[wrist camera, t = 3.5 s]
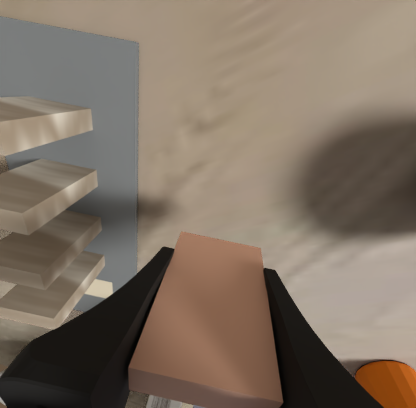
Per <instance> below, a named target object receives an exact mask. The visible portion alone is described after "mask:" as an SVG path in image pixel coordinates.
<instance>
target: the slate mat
mask: <svg viewBox="0 0 416 408" xmlns="http://www.w3.org/2000/svg"><path fill="white" fill-rule="evenodd" d="M138 72H139V43H137V42H134V41H128V40H123V39H118V38H113V37H107V36H102V35H97V34H91V33H86V32H81V31H75V30H70V29H65V28H60V27H54V26H49V25H44V24H38V23H33V22H28V21H22V20H17V19H12V18H7V17H1V16H0V97H21V96H30V97H35V98H40V99H45V100H50V101H55V102H60V103H65V104H70V105H75V106H80V107H85V108H91V114H92V126H93V130H91V131H88V132H85V133H81V134H78V135H75V136H71V137H68V138H64V139H61V140H58V141H54V142H51V143H47V144H44V145H41V146H37V147H34V148H31V149H27V150H24V151H20V152H17V153H14V154H10V155H7V156H5V158H6V161H7V164H8V168H9V170H12V169H15V168H17V167H20V166H23V165H26V164H28V163H31V162H34V161H36V160H39V159H46V160H51V161H56V162H60V163H65V164H70V165H75V166H80V167H85V168H90V169H95V170H97V181H98V187H96V188H95V189H93V190H92V191H91V192H89V193H88V194H86V195H85V196H84V197H82V198H81V199H79V200H78V201H77V202H75V203H74V204H72V205H71V206H70V207H68V208H67V209H65V210H68V211H73V212H78V213H83V214H88V215H92V216H97V217H101V226H102V231H101V232H100V233H99V234H98V235H97V236H96V237H95V238H94V239H93V240H92V241H91V242H90V243H89V244H88V245H87V247H86V248H85V249H84V250H83V251H87V252H92V253H97V254H102V255H104V259H105V266H104V268H103V269H102V270H101V272H100V273H99V274H98V276H97V277H96V278H95V280H94V281H93V283H92V284H91V285H90V287H89V288H88V289H87V291H86V292H85V293H84V295H83V296H82V297H81V299H80V300H79V301H78V303H77V304H76V305H75V307H74V308H73V310H78V311H83V312H86V311H88V310H89V309H91V308H93V307H94V306H96V305H97V304H99V303H100V302H102V301H103V300H104V299H106V298H107V297H109V296H110V295H112V294H113V293H114V292H116V291H117V290H118V289H119V288H121V287H122V286H123V285H124V284H126V283H127V282H128V281H129V280H130V279H131V278H133V277H134V276H135V275H136V274H137V190H138Z"/></svg>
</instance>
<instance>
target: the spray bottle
mask: <svg viewBox="0 0 416 408" xmlns="http://www.w3.org/2000/svg"><path fill="white" fill-rule="evenodd" d="M355 379H356V381H357V382H358V383H359V384H360V385H361V386H362V387H363V388H364V389H365V390H366V391H367V392H368V393H369V394H370V395H371V396H372V397H373V398H374V399H375V400H377V401H378V402H379V403H380V404H381V405H382V406H383V407H384V408H416V372H415V370H414V369H412V368H411V367H410V366H408V365H407V364H403V363H400V362H396V361H378V362H372V363H369V364H367V365H364V366H362V367H361V368H360V369H359V370H358V371H357V372H356V375H355Z"/></svg>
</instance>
